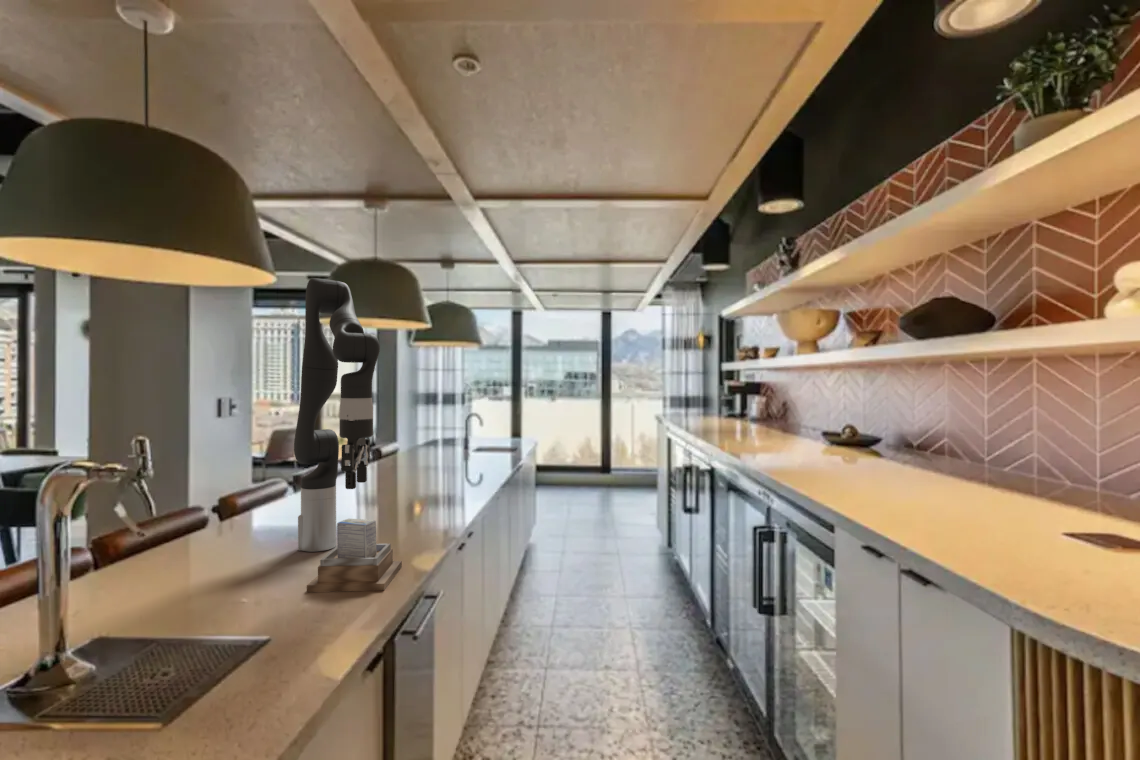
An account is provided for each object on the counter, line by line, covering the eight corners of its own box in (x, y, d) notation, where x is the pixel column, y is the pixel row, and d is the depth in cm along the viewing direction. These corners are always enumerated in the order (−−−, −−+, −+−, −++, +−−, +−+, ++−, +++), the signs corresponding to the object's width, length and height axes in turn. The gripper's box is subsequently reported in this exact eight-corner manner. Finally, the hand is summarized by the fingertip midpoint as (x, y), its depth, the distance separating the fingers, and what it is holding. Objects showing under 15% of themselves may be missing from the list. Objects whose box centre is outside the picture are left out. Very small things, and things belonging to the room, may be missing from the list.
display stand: (306, 592, 133) (306, 562, 133) (333, 568, 150) (332, 542, 150) (384, 590, 134) (384, 561, 134) (401, 566, 150) (401, 541, 151)
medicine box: (377, 556, 143) (376, 519, 143) (365, 561, 138) (365, 524, 138) (348, 553, 145) (348, 517, 145) (336, 558, 141) (336, 522, 141)
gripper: (349, 415, 148) (349, 480, 148) (329, 419, 134) (329, 491, 134) (380, 415, 149) (380, 480, 149) (363, 419, 135) (363, 491, 135)
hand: (356, 485), depth 142 cm, fingers open, 8 cm apart
